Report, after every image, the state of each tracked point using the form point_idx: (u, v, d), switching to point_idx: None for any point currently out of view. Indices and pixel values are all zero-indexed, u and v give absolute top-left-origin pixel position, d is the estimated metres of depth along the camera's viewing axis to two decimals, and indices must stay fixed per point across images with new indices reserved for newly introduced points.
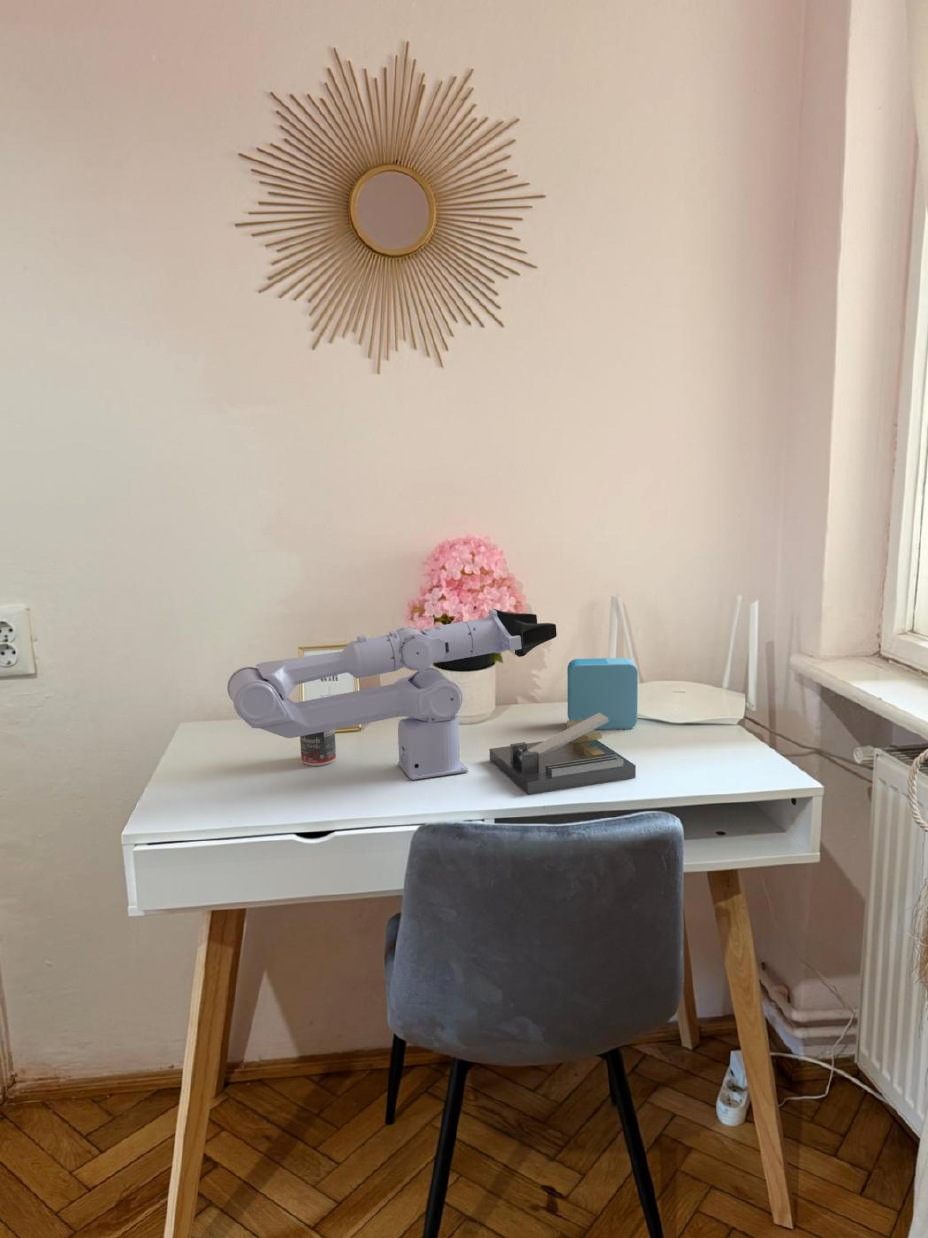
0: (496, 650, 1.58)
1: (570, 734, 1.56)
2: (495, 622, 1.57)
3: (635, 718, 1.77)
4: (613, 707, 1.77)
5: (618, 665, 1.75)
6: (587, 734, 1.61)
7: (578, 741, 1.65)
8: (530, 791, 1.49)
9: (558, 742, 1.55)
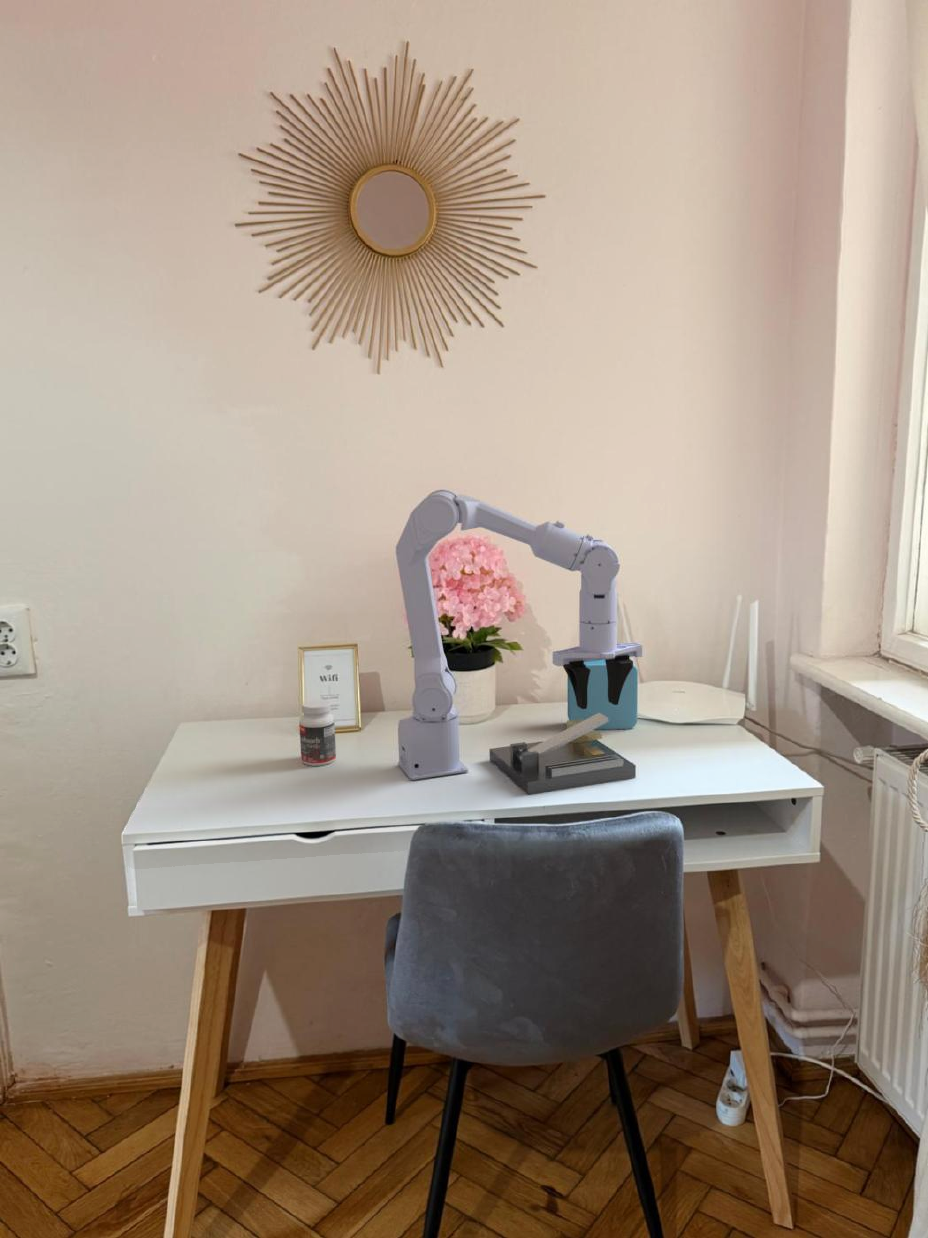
0: None
1: (570, 734, 1.56)
2: (594, 652, 1.52)
3: (635, 718, 1.77)
4: (613, 707, 1.77)
5: None
6: (587, 734, 1.61)
7: (578, 741, 1.65)
8: (530, 791, 1.49)
9: (558, 742, 1.55)
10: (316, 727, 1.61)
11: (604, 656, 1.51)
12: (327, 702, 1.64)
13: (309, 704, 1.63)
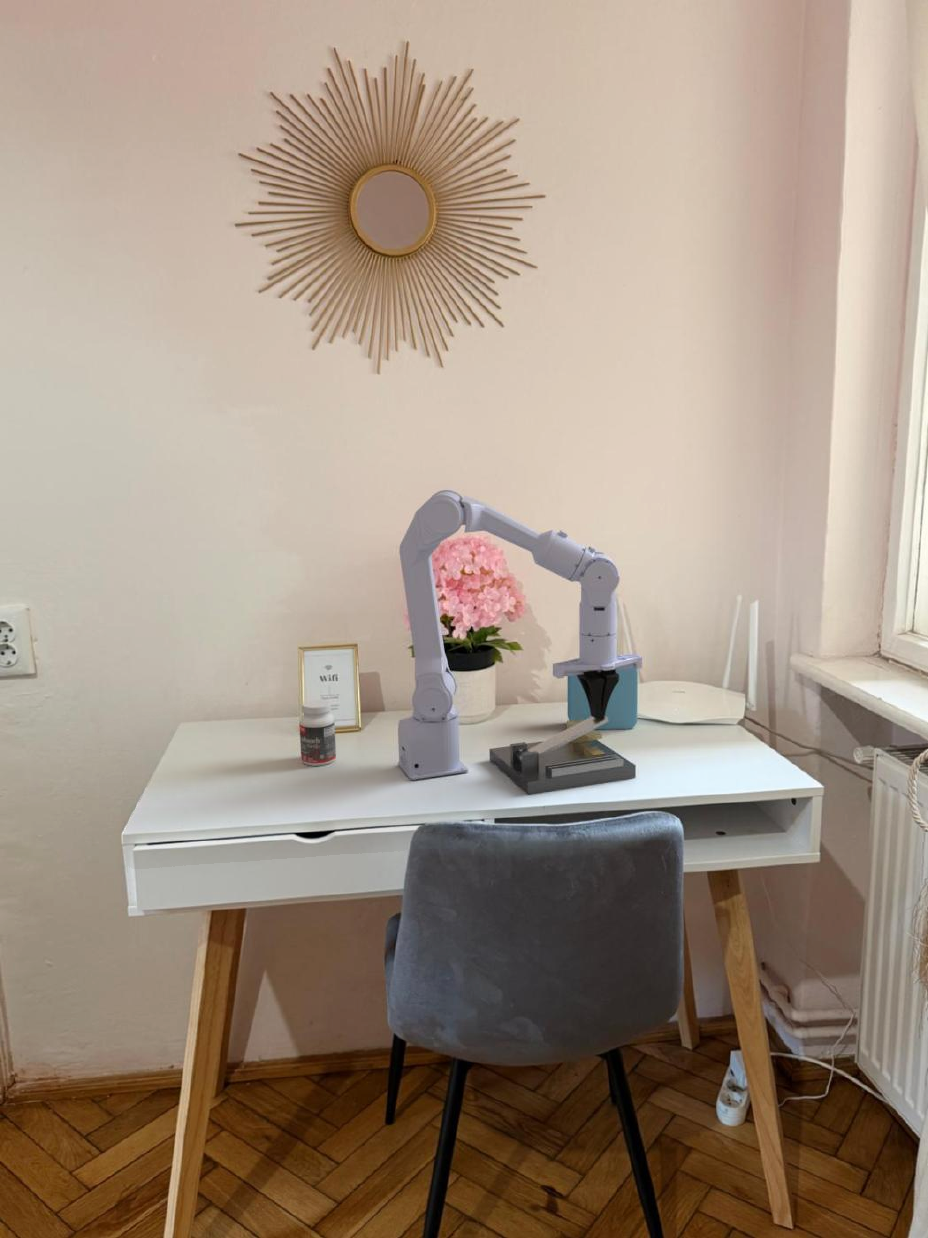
0: None
1: (570, 734, 1.56)
2: (594, 664, 1.53)
3: (635, 718, 1.77)
4: (613, 707, 1.77)
5: None
6: (587, 734, 1.61)
7: (578, 741, 1.65)
8: (530, 791, 1.49)
9: (558, 742, 1.55)
10: (316, 727, 1.61)
11: (604, 668, 1.52)
12: (327, 702, 1.64)
13: (310, 704, 1.63)
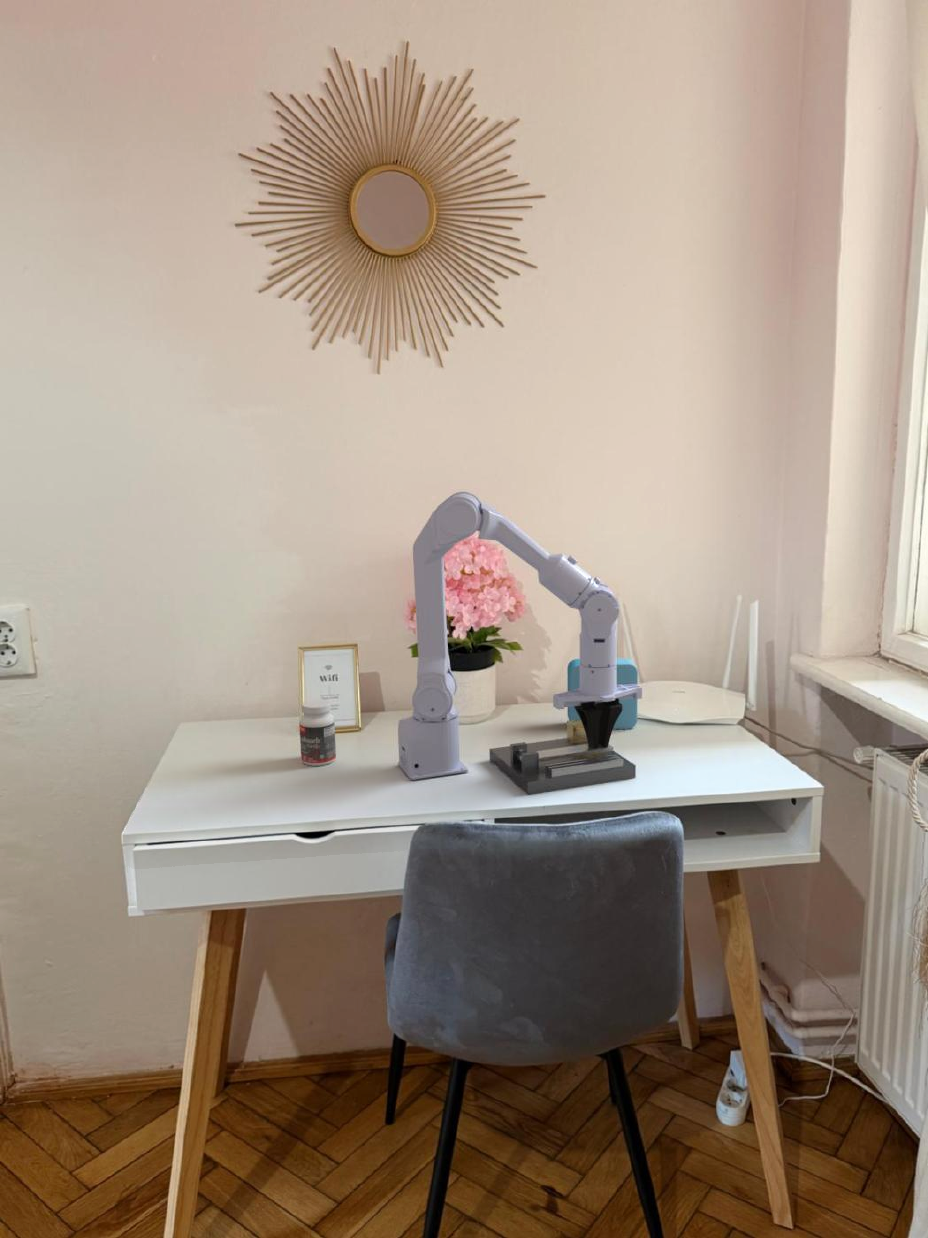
0: None
1: (573, 750, 1.56)
2: (594, 695, 1.54)
3: (635, 718, 1.77)
4: None
5: (618, 665, 1.75)
6: None
7: (578, 741, 1.65)
8: (530, 791, 1.49)
9: (561, 754, 1.55)
10: (316, 727, 1.61)
11: (604, 699, 1.53)
12: (327, 702, 1.64)
13: (309, 704, 1.63)
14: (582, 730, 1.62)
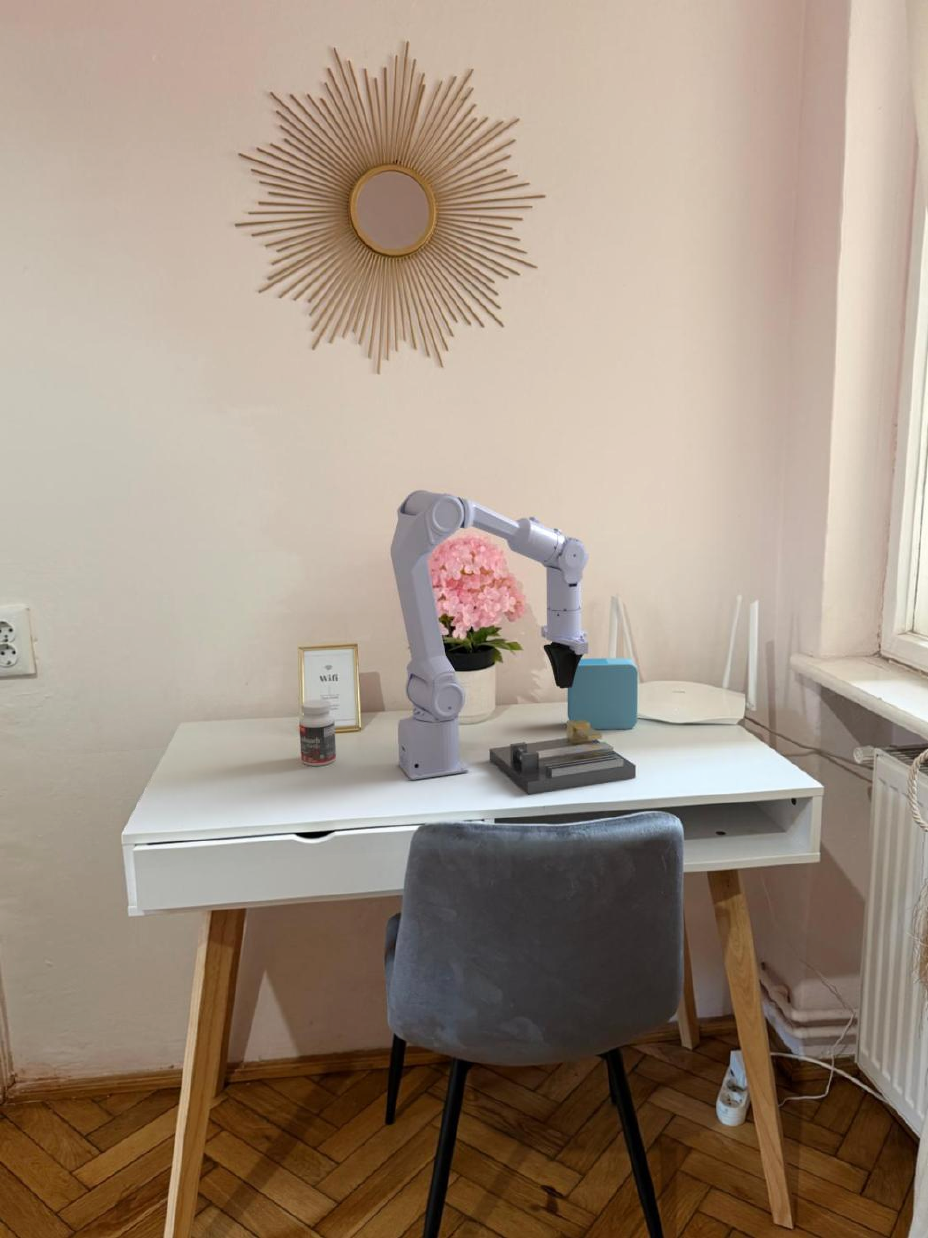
0: (556, 635, 1.65)
1: (573, 750, 1.56)
2: (581, 634, 1.67)
3: (635, 718, 1.77)
4: (613, 707, 1.77)
5: (618, 665, 1.75)
6: (587, 734, 1.61)
7: (578, 741, 1.65)
8: (530, 791, 1.49)
9: (561, 754, 1.55)
10: (316, 727, 1.61)
11: None
12: (327, 702, 1.64)
13: (309, 704, 1.63)
14: (582, 730, 1.62)
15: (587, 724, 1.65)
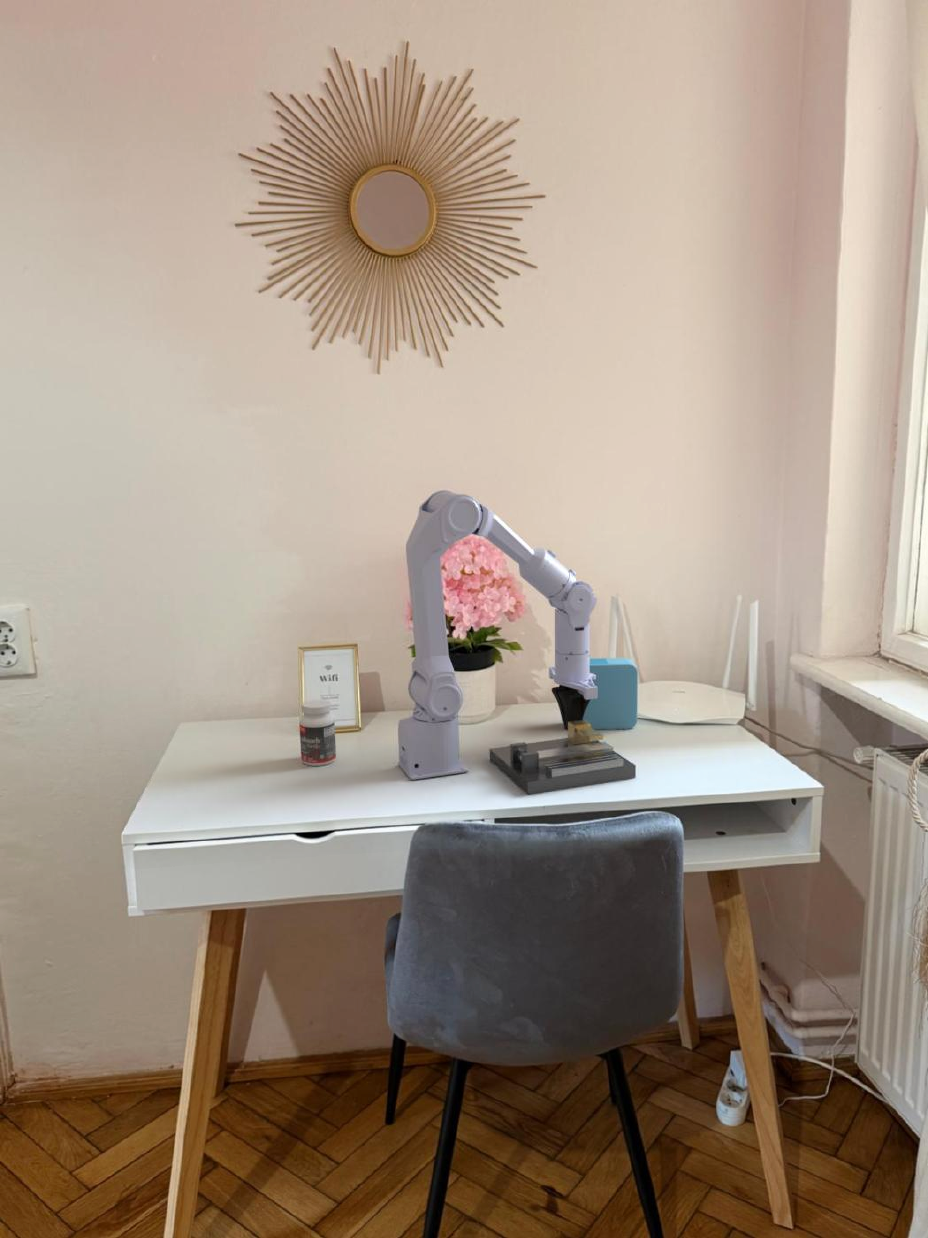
0: (565, 679, 1.64)
1: (573, 750, 1.56)
2: (590, 677, 1.65)
3: (635, 718, 1.77)
4: (613, 707, 1.77)
5: (618, 665, 1.75)
6: (588, 735, 1.60)
7: (579, 742, 1.64)
8: (530, 791, 1.49)
9: (561, 754, 1.55)
10: (316, 727, 1.61)
11: (595, 677, 1.67)
12: (327, 702, 1.64)
13: (310, 704, 1.63)
14: (584, 731, 1.62)
15: (588, 725, 1.64)
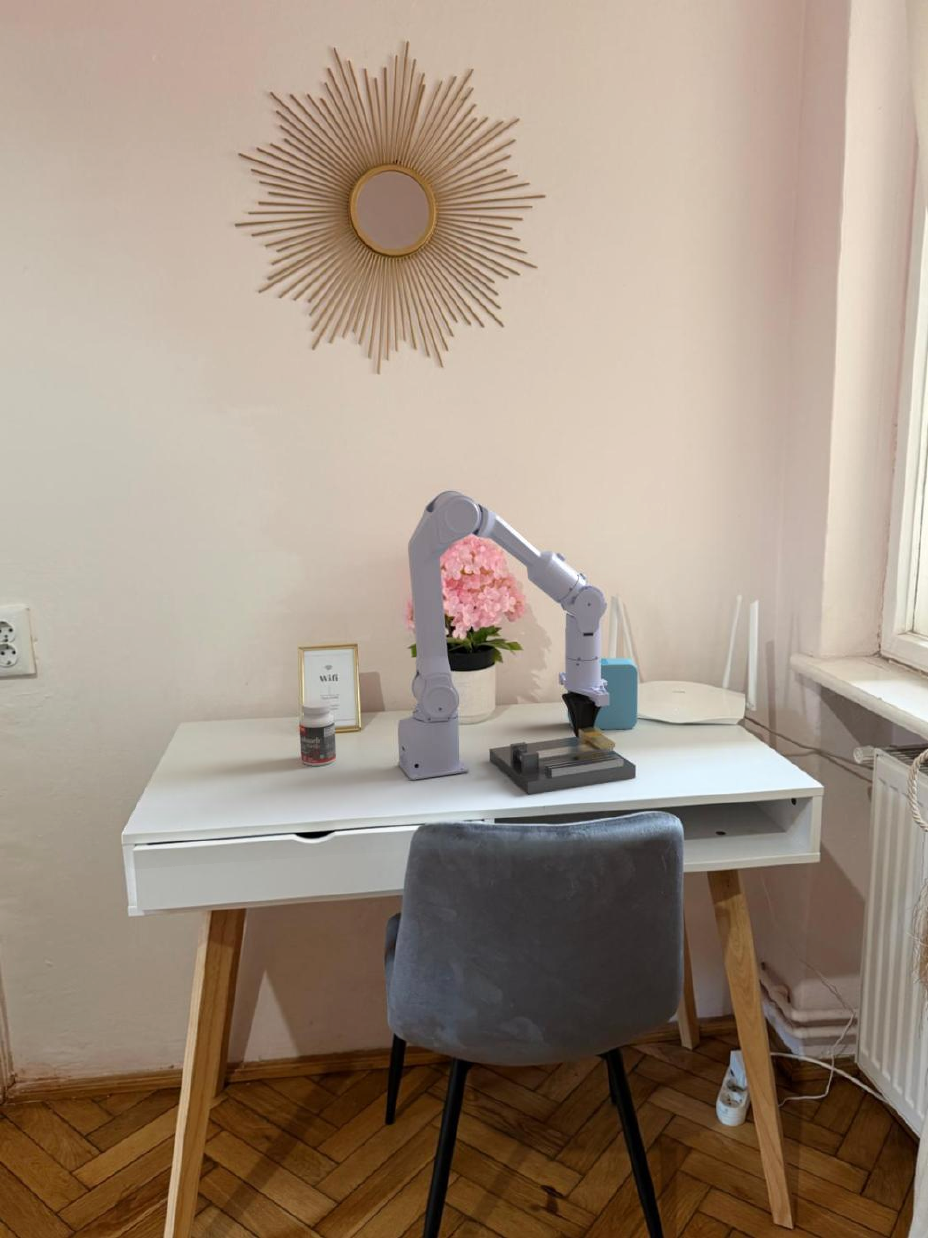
0: (576, 685, 1.60)
1: (573, 750, 1.56)
2: (601, 683, 1.62)
3: (635, 718, 1.77)
4: (613, 707, 1.77)
5: (618, 665, 1.75)
6: (600, 742, 1.56)
7: None
8: (530, 791, 1.49)
9: (561, 754, 1.55)
10: (316, 727, 1.61)
11: (606, 683, 1.63)
12: (327, 702, 1.64)
13: (309, 704, 1.63)
14: (595, 739, 1.58)
15: (600, 732, 1.61)
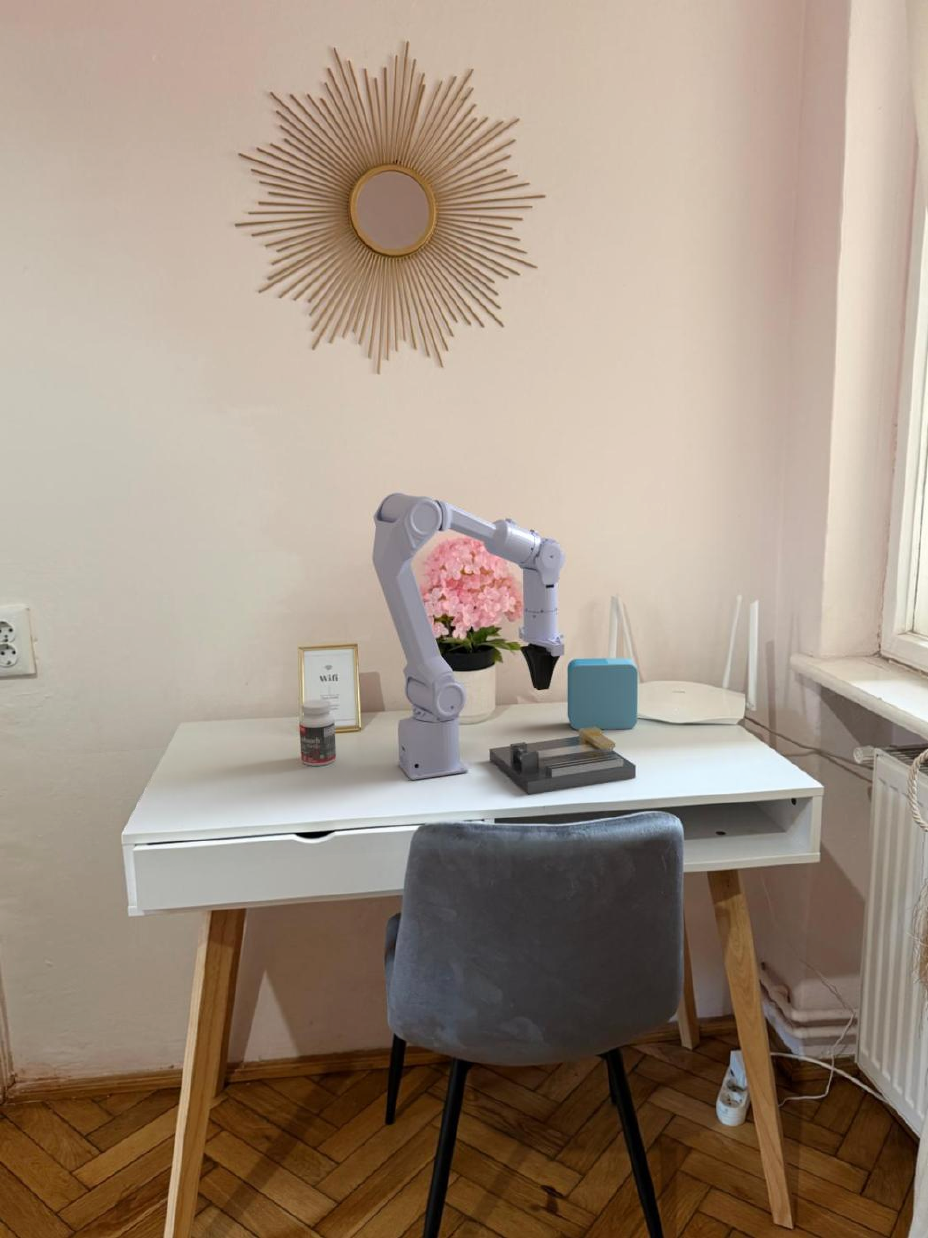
0: (533, 637, 1.65)
1: (573, 750, 1.56)
2: (558, 635, 1.66)
3: (635, 718, 1.77)
4: (613, 707, 1.77)
5: (618, 665, 1.75)
6: (600, 742, 1.56)
7: None
8: (530, 791, 1.49)
9: (561, 754, 1.55)
10: (316, 727, 1.61)
11: None
12: (327, 702, 1.64)
13: (310, 704, 1.63)
14: (595, 739, 1.58)
15: (600, 732, 1.61)
